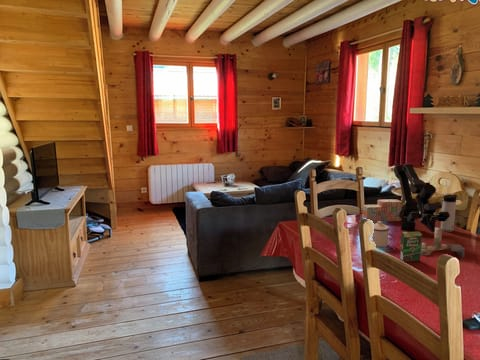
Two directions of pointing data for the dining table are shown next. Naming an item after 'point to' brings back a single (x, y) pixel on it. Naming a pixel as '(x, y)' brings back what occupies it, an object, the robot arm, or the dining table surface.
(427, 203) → the robot arm
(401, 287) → the dining table surface
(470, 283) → the dining table surface
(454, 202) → the travel mug
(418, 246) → the coffee box
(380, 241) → the teacup with lid
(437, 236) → the link
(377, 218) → the stack of blocks
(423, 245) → the pintle
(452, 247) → the keeper
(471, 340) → the dining table surface
